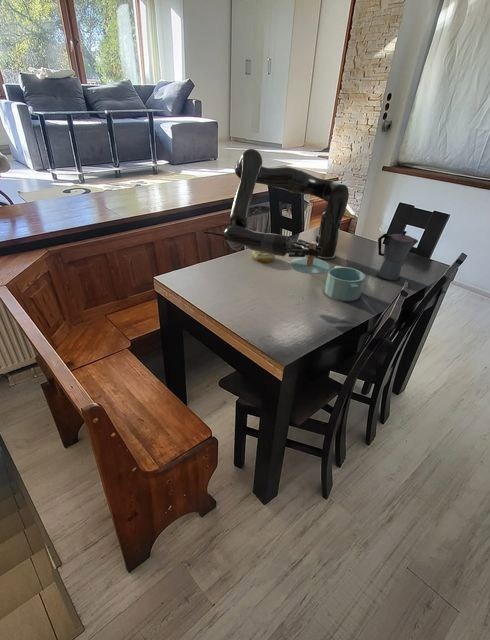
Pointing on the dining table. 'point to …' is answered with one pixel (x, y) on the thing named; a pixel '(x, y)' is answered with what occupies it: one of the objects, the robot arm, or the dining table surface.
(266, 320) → the dining table surface
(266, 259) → the decorated donut
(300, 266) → the pot lid
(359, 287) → the pot
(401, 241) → the moka pot
